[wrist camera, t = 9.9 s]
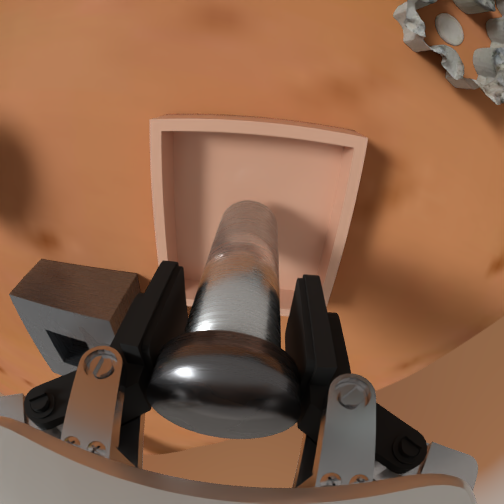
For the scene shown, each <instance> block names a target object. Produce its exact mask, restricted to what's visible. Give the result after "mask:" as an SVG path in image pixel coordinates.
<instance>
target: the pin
mask: <svg viewBox="0 0 504 504" xmlns="http://www.w3.org/2000/svg"><path fill="white" fill-rule="evenodd" d="M146 394H147V399H148V401H149V403H150V405H151V406H152V407H153V408H154V409H155V410H156V411H157V412H158V413H159V414H160V415H161V416H163V417H164V418H166V419H167V420H169V421H171V422H172V423H174V424H176V425H178V426H180V427H183V428H185V429H188V430H191V431H194V432H197V433H200V434H204V435H209V436H214V437H220V438H230V439H251V438H260V437H266V436H270V435H274V434H277V433H280V432H283V431H285V430H287V429H289V428H290V427H291V426H293V425H294V424H295V423H296V422H297V421H298V420H299V418H300V415H301V401H300V381H299V370H298V367H297V365H296V362H295V361H294V360H293V358H292V357H291V356H290V355H289V354H288V353H287V352H285V351H284V350H283V349H281V330H280V284H279V252H278V226H277V220H276V217H275V215H274V213H273V212H272V211H271V210H270V209H269V208H268V207H267V206H266V205H264V204H262V203H260V202H257V201H252V200H244V201H239V202H236V203H234V204H232V205H231V206H230V207H228V208H227V209H226V211H225V212H224V213H223V215H222V218H221V221H220V223H219V226H218V229H217V232H216V235H215V238H214V241H213V244H212V247H211V250H210V253H209V256H208V259H207V262H206V265H205V268H204V271H203V274H202V277H201V280H200V283H199V286H198V289H197V292H196V296H195V299H194V302H193V305H192V308H191V311H190V315H189V318H188V321H187V324H186V328H185V331H184V334H182V335H179V336H177V337H175V338H173V339H171V340H170V341H168V342H167V343H166V344H165V345H164V346H163V347H162V348H161V350H160V352H159V355H158V358H157V361H156V364H155V367H154V370H153V373H152V376H151V379H150V382H149V385H148V388H147V391H146Z"/></svg>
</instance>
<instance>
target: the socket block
mask: <svg viewBox="0 0 504 504" xmlns="http://www.w3.org/2000/svg"><path fill="white" fill-rule="evenodd" d="M138 293H141V291H140V286H139V281H138V276H137V273H129V272H122V271H115V270H108V269H101V268H94V267H88V266H81V265H75V264H68V263H62V262H56V261H50V260H44V259H41V260H40V261H39V262H38V263H37V264H36V265H35V266H34V267H33V268H32V269H31V270H30V271H29V272H28V274H27V275H26V276H25V277H24V278H23V279H22V280H21V281H20V282H19V283H18V285H17V286H16V287H15V288H14V289H13V290H12V291H11V293H10V294H9V295H10V297H11V300H12V302H13V304H14V306H15V308H16V310H17V312H18V314H19V316H20V318H21V320H22V321H23V323H24V325H25V327H26V329H27V331H28V332H29V334H30V336H31V338H32V339H33V341H34V343H35V344H36V346H37V348H38V349H39V351H40V353H41V354H42V356H43V357H44V359H45V361H46V362H47V364H48V365H49V367H50V368H51V370H52V371H53V372H54V373H57V374H60V375H62V376H63V375H66V374H68V373H71V372H73V371H75V370H77V368H78V365H79V361H80V359H81V357H82V356H83V355H84V353H85V352H86V351H88V350H90V349H91V348H94V347H97V346H109V347H110V345H111V343H112V341H113V339H114V337H115V335H116V333H117V331H118V329H119V327H120V325H121V323H122V321H123V319H124V317H125V315H126V313H127V311H128V310H129V308H130V306H131V304H132V302H133V300H134V298H135V297H136V295H137V294H138Z"/></svg>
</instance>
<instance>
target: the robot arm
mask: <svg viewBox="0 0 504 504" xmlns="http://www.w3.org/2000/svg"><path fill="white" fill-rule="evenodd" d="M187 321H188V314H187V304H186V292H185V280H184V268H183V266H179V264H178V262H174V261H165V260H163V261H162V262H161V263H160V265H159V267H158V269H157V271H156V273H155V274H154V276H153V278H152V280H151V282H150V284H149V286H148V287H147V289H146V291H145V293H138V294H137V295H136V297H135V298H134V300H133V302H132V304H131V306H130V308H129V310H128V311H127V313H126V315H125V317H124V319H123V321H122V323H121V325H120V327H119V329H118V331H117V333H116V335H115V337H114V339H113V341H112V343H111V345H110V347H109V346H97V347H94V348H91V349H90V350H88V351H86V352H85V353H84V355H83V356H82V357H81V359H80V361H79V365H78V368H77V370H75V371H73V372H71V373H68V374H66V375H63V376H61V377H59V378H56V379H54V380H51V381H49V382H46V383H44V384H41V385H39V386H37V387H35V388H33V389H31V390H30V391H29V393H28V394H27V396H24V395H23V393H22V394H15V395H9V396H2V397H0V504H477V502H476V498H475V495H474V493H473V488H474V485H475V481H476V477H477V472H478V466H477V462H476V460H475V459H474V458H473V457H472V456H470V455H468V454H465V453H462V452H459V451H456V450H453V449H450V448H447V447H445V446H442V445H439V444H437V443H434V442H431V443H430V444H429V443H426V440H425V439H424V437H423V436H422V435H421V434H420V433H419V432H418V431H417V430H415V429H413V428H412V427H411V426H409V425H408V424H406V423H405V422H403V421H402V420H400V419H399V418H397V417H396V416H395V415H393V414H392V413H390V412H389V411H387V410H386V409H385V408H383V407H382V406H380V405H379V404H377V403H376V394H375V389H374V387H373V386H372V384H371V383H370V382H369V381H368V380H367V379H366V378H364V377H362V376H360V375H357V374H351V370H350V365H349V360H348V355H347V351H346V346H345V341H344V337H343V332H342V328H341V323H340V319H339V316H338V314H337V313H331V312H327V309H326V304H325V299H324V294H323V289H322V285H321V280H320V276H319V275H308V274H304V275H303V277H302V278H297V281H296V286H295V291H294V295H293V300H292V305H291V309H290V314H289V318H288V323H287V327H286V332H285V352H287V353H288V354H289V355H290V356H291V357H292V358H293V360H294V361H295V362H296V365H297V367H298V370H299V381H300V401H301V415H300V418H299V420H298V421H297V422H298V428H299V429H300V430H301V431H303V432H304V434H303V439H302V445H301V450H300V455H299V460H298V465H297V469H296V474H295V478H294V483H293V487H292V488H258V487H257V488H256V487H242V486H231V485H221V484H213V483H206V482H200V481H194V480H187V479H182V478H178V477H173V476H168V475H163V474H159V473H155V472H151V471H147V470H143V469H142V463H143V461H142V460H143V439H144V423H145V413H146V412H148V411H150V410H151V405H150V403H149V401H148V399H147V394H146V391H147V388H148V385H149V382H150V379H151V376H152V373H153V370H154V367H155V364H156V361H157V358H158V355H159V352H160V350H161V348H162V347H163V346H164V345H165V344H166V343H167V342H168V341H170V340H171V339H173V338H175V337H177V336H179V335H182V334H184V331H185V328H186V324H187Z"/></svg>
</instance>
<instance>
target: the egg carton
mask: <svg viewBox="0 0 504 504" xmlns="http://www.w3.org/2000/svg"><path fill="white" fill-rule="evenodd" d="M436 1H437V0H408V1H407V2H405V3H403V4H402V5H399V6H398V7H397V9H396V10H395V12H394V14H393V17H394V18H395V19H396V20H397V21H398V22H399V23H400V25H401V26H402V28H403V33H404V39H403V41H404V43H405V44H406V45H407V46H409V47H410V48H411V49H412V50H413V51H415V52H420V51H427V50H433V51H435V52H436V53H439V54H440V55H441V56H442V62H441V64H442V65H443V67H444V68H445V69H446V76H445V78H446V79H447V80H448V81H449V82H450V83H451V84H452V85H453V86H454V87H455V88H464V89H474V90H475V89H477V88H479V87H481V90H482V91H483V92H485V95H487V96H488V97H489V98H490V99H491V100H492V101H493V102H494V103H495V104H497V105H500V104H501V103H504V0H496V5H497V8H498V10H499V11H500V13H501V15H502V17H501V18H494V19H489V20H488V21H487V23H486V30H487V34H488V36H489V38H490V40H491V46H490V48H480V49H476V50H475V51H474V54H473V65H474V67H475V70H476V72H477V74H478V78H477V80H473V79H467V78H463V75H464V65H463V63H462V61H461V59H460V57H459V55H458V54H457V52H456V51H455V50H454V49H452V48H451V47H449V46H446V45H436V46H428V45H427V44H426V43H425V41H424V40H423V39H424V37H426V35H425V23H424V22H423V21H422V20H421V18H420V16H419V15H418V13H417V12H416V10H417V9H419V8H422V7H424V6H427V5H429V4H432V3H434V2H436ZM453 2H454V3H455V4H456V6H457V7H458V8H459V9H460V10H462V11H463V12H465V13H467V14H475V13H482V12H488V11H493V12H495V11H496V10H495V1H494V0H453ZM435 26H436V29H437V32H438V34H439V35H440V37H441V38H442V39H443V40H444V41H445V42H446V43H448V44H451V45H454V46H456V45H460V44H461V43H462V42H463V39H464V37H463V36H464V34H463V30H462V27H461V25H460V24H459V22H458V21H457V20H456V19H455V18H454V17H453V16H451V15H449V14H447V13H441V14H439V15H438V16H437V17H436V19H435Z"/></svg>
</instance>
